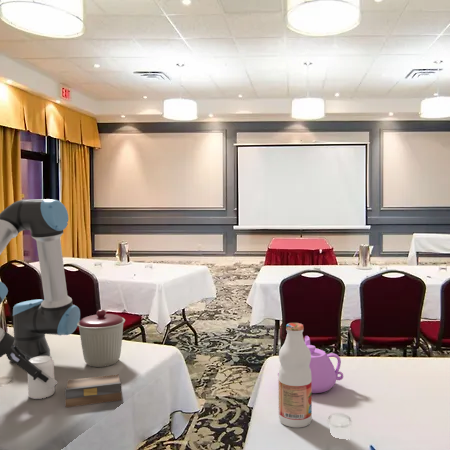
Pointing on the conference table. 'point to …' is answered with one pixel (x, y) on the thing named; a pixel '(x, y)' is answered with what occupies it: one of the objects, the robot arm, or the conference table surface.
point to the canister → (101, 338)
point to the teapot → (322, 369)
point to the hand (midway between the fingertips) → (51, 380)
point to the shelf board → (93, 390)
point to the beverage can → (36, 386)
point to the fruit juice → (295, 379)
